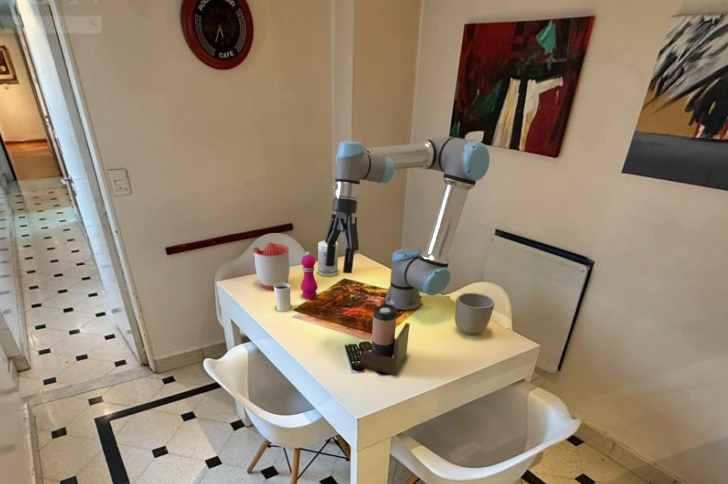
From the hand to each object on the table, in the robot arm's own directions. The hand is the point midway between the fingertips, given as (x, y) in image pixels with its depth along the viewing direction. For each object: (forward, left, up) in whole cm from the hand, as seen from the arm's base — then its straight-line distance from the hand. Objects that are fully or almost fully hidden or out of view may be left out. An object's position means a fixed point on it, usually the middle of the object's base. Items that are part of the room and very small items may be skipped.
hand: (338, 269), depth 148 cm
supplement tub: (-66, -32, -30) cm, 79 cm away
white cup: (-23, -34, -30) cm, 51 cm away
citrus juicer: (-43, -50, -30) cm, 73 cm away
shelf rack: (+1, +17, -30) cm, 35 cm away
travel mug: (+1, +17, -30) cm, 35 cm away
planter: (-33, +42, -30) cm, 61 cm away
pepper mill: (-38, -29, -30) cm, 57 cm away
